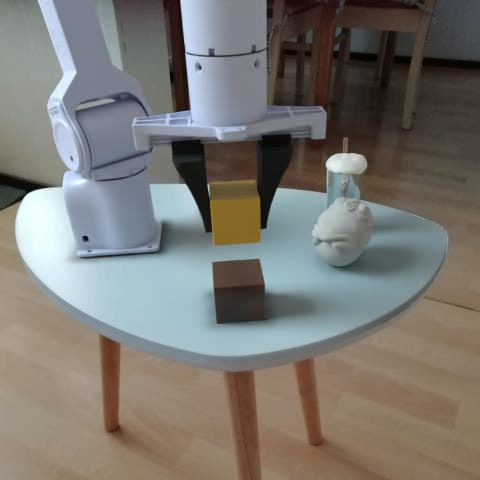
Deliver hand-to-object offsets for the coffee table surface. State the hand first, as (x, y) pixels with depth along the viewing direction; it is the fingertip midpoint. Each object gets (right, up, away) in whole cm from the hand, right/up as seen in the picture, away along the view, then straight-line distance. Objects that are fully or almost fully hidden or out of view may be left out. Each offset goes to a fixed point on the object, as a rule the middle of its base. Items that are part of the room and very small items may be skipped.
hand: (235, 226), depth 43 cm
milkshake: (+13, +3, +18) cm, 22 cm away
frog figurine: (+11, -2, +11) cm, 16 cm away
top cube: (0, -1, 0) cm, 1 cm away
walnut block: (0, -7, +5) cm, 9 cm away
